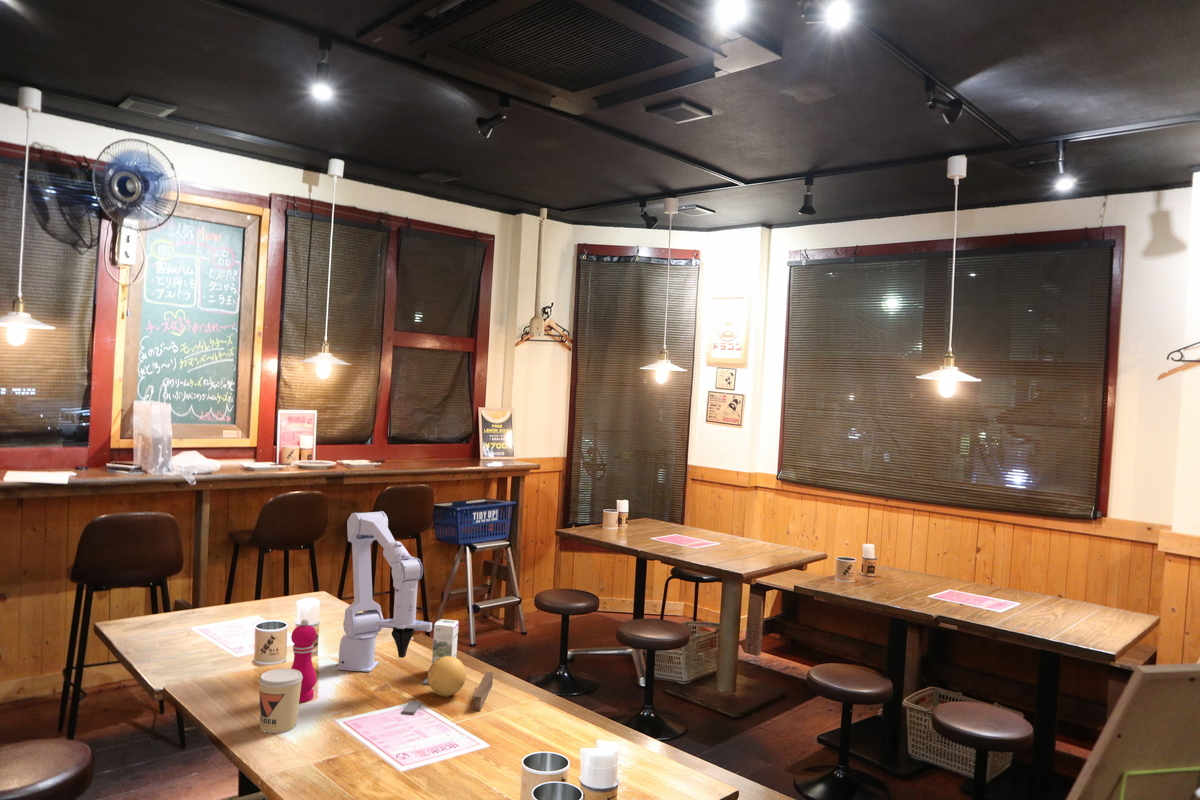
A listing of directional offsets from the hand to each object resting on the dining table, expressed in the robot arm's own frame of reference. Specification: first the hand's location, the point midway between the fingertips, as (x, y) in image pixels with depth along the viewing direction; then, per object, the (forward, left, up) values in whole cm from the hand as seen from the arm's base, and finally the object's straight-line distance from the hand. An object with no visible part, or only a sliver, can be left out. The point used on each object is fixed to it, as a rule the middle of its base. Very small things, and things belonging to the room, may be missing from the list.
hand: (402, 656), depth 206 cm
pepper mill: (-23, -9, -10) cm, 26 cm away
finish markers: (+6, -2, -9) cm, 11 cm away
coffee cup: (-21, -26, -10) cm, 35 cm away
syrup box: (+8, +16, -10) cm, 20 cm away
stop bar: (+22, 0, -9) cm, 24 cm away
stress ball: (+12, 0, -10) cm, 15 cm away
